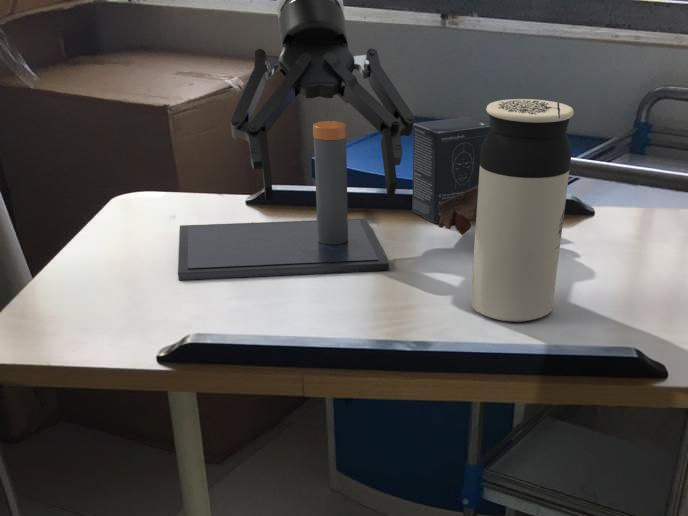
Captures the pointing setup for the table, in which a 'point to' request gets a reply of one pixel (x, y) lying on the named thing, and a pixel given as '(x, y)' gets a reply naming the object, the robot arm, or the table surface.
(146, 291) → the table surface
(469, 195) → the brown jagged lump
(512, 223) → the travel mug
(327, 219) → the bottle
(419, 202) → the box
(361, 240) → the tablet
